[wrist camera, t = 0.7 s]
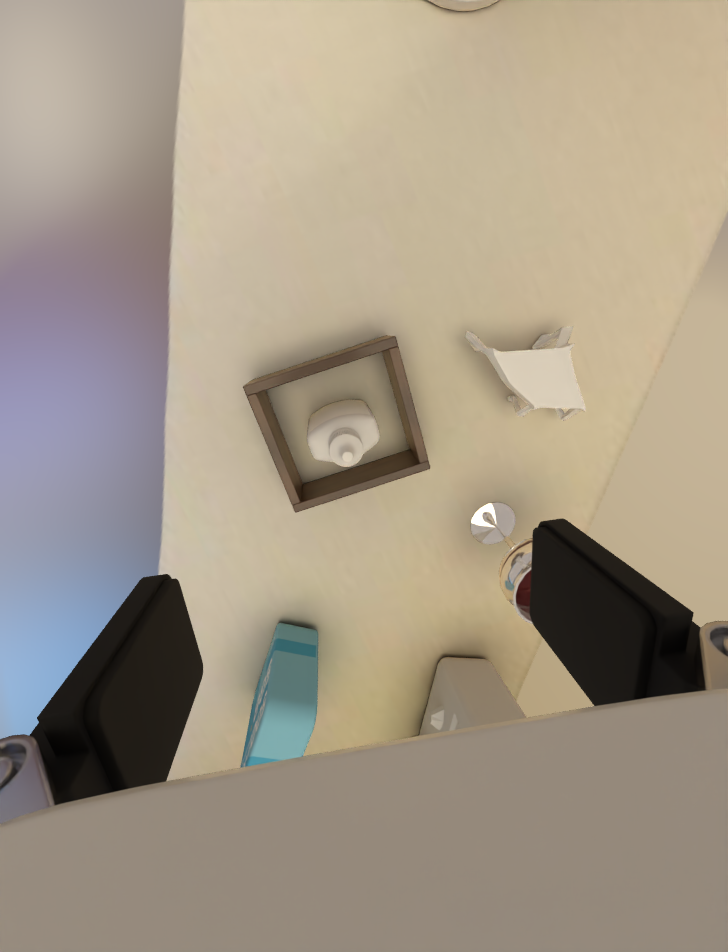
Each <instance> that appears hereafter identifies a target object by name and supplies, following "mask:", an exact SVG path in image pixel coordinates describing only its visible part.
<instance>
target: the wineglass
mask: <svg viewBox="0 0 728 952" xmlns="http://www.w3.org/2000/svg"><path fill="white" fill-rule="evenodd" d="M515 522H516V521H515V514H514V512H513V510H512V509H511V508H510V507H509V506H508V505H505V504H503V503H490V504H487V505H485V506H483V507H481V508H480V509H479V510H478V511H477V512H476V513H475V515H474V517H473V518H472V521H471V532H472V534H473V536H474V538H475V539H477V540H478V541H479V542H482V543H484V544H494V543H499V542H501V541H502V540H504V541H505V542H506V543H507V545H508V546H509V547H510V550H509V551H508V552H507V553H506V554H505V556H504V558H503V559H502V561H501V564H500V568H499V580H500V586H501V589H502V591H503V593H504V595H505V597H506V599H507V600H508V601H509V602H510V603H511V604H512V605H514V608H515V609H516V611H517V613H518V615H519V616H520V617H521V618H522V619H524V620H525V621H526V622H528V623H531V624H533V623H532V621H531V618H530V612H529V608H530V585H531V563H532V540H533V538H530V539H525V540H523V541H521V542H520V543H518V544H515V543H514V542H513V541H512V540H511V539H510V538H509V537H508V536H509V535H510V534H511V532H512V531H513V529H514V526H515Z"/></svg>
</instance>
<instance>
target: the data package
mask: <svg viewBox="0 0 728 952" xmlns="http://www.w3.org/2000/svg"><path fill="white" fill-rule="evenodd" d="M317 690H318V632H317V630H313V629H308V628H303V627H299V626H294V625H289V624H284V623H279V624H278V625H277V627H276V630H275V633H274V636H273V639H272V642H271V645H270V648H269V651H268V654H267V658H266V661H265V664H264V667H263V670H262V673H261V676H260V679H259V682H258V685H257V688H256V692H255V696H254V700H253V704H252V709H251V715H250V720H249V725H248V731H247V736H246V741H245V747H244V752H243V757H242V763H241V768H242V767H247V766H253V765H258V764H264V763H269V762H275V761H280V760H286V759H292V758H297V757H303V754H304V752H305V749H306V747H307V744H308V742H309V739H310V737H311V734H312V732H313V729H314V725H315V720H316V714H317Z"/></svg>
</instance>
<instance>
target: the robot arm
mask: <svg viewBox="0 0 728 952" xmlns="http://www.w3.org/2000/svg"><path fill="white" fill-rule="evenodd" d="M428 1H430V2H432V3H434V4H436V5H438V6H439V7H443V8H447V9H451V10H455V11H473V10H477V9H480V8H484V7H488V6H490V5H492V4H494V3H495V2H497V1H499V0H428ZM529 612H530V618H531V621H532V623H533V625H534V626H535V628H536V629H537V630H538V632H539V633H540V634H541V636H542V637H543V638H544V639H545V641H546V642H547V643H548V645H549V646H550V647H551V649H552V650H553V651H554V653H555V654H556V655H557V657H558V658H559V659H560V661H561V662H562V663H563V664H564V666H565V667H566V669H567V670H568V671H569V673H570V674H571V675H572V677H573V678H574V679H575V681H576V682H577V683H578V685H579V686H580V687H581V689H582V690H583V691H584V693H585V694H586V695H587V697H588V698H589V699H590V700H591V702H592V703H593V704H594V706H593V707H588V708H582V709H576V710H569V711H563V712H558V713H552V714H546V715H540V716H534V717H528V718H522V719H516V720H510V721H504V722H498V723H492V724H486V725H480V726H474V727H468V728H463V729H457V730H451V731H445V732H439V733H434V734H428V735H422V736H416V737H410V738H405V739H399V740H393V741H388V742H382V743H376V744H370V745H365V746H359V747H353V748H348V749H342V750H336V751H330V752H325V753H319V754H314V755H308V756H303V757H297V758H292V759H286V760H280V761H275V762H269V763H264V764H258V765H253V766H247V767H242V768H236V769H231V770H225V771H219V772H214V773H208V774H203V775H197V776H192V777H187V778H182V779H176V780H171V781H166V780H167V777H168V774H169V771H170V768H171V765H172V762H173V760H174V757H175V754H176V751H177V748H178V745H179V742H180V739H181V737H182V734H183V731H184V728H185V725H186V722H187V719H188V717H189V714H190V711H191V708H192V705H193V702H194V699H195V696H196V694H197V691H198V688H199V685H200V682H201V679H202V676H203V663H202V659H201V655H200V652H199V648H198V645H197V642H196V638H195V635H194V631H193V628H192V624H191V621H190V618H189V614H188V611H187V607H186V604H185V601H184V597H183V594H182V590H181V587H180V584H179V581H178V580H177V579H172V578H171V577H170V576H169V575H168V574H164V575H157V576H150V577H144V578H142V579H141V580H140V581H139V582H138V584H137V585H136V586H135V588H134V589H133V591H132V592H131V593H130V595H129V596H128V597H127V598H126V600H125V601H124V602H123V604H122V605H121V607H120V608H119V609H118V610H117V612H116V613H115V615H114V616H113V617H112V619H111V620H110V621H109V622H108V624H107V625H106V626H105V628H104V629H103V630H102V632H101V633H100V635H99V636H98V637H97V639H96V640H95V641H94V643H93V644H92V645H91V647H90V648H89V649H88V650H87V652H86V653H85V654H84V656H83V657H82V659H81V660H80V661H79V662H78V664H77V665H76V666H75V668H74V669H73V670H72V672H71V673H70V675H69V676H68V677H67V678H66V680H65V681H64V683H63V684H62V685H61V687H60V688H59V689H58V691H57V692H56V693H55V695H54V696H53V697H52V698H51V700H50V701H49V703H48V704H47V705H46V707H45V708H44V709H43V711H42V712H41V713H40V715H39V716H38V717H37V719H38V721H39V723H38V725H37V726H36V727H35V729H34V730H33V731H32V733H31V734H30V736H28V735H13V736H9V737H6V738H3V739H0V952H728V621H714V622H710V623H706V624H705V625H704V626H702V627H701V628H700V627H699V626H698V625H696V624H695V623H694V622H692V617H693V612H692V611H691V610H689V609H688V608H686V607H685V606H684V605H682V604H681V603H680V602H678V601H677V600H675V599H674V598H673V597H671V596H670V595H669V594H667V593H666V592H665V591H663V590H662V589H660V588H659V587H657V586H656V585H655V584H654V583H652V582H651V581H649V580H648V579H647V578H645V577H644V576H643V575H641V574H640V573H638V572H637V571H635V570H634V569H633V568H631V567H630V566H629V565H627V564H626V563H625V562H623V561H622V560H620V559H619V558H618V557H616V556H615V555H614V554H612V553H611V552H609V551H608V550H607V549H605V548H604V547H602V546H601V545H600V544H598V543H597V542H596V541H594V540H593V539H591V538H590V537H589V536H587V535H586V534H585V533H583V532H582V531H580V530H579V529H578V528H576V527H575V526H574V525H572V524H571V523H569V522H568V521H567V520H565V519H556V520H549V521H542V522H540V524H539V526H538V528H535V529H534V530H533V540H532V563H531V585H530V608H529Z"/></svg>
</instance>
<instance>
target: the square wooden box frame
mask: <svg viewBox="0 0 728 952" xmlns="http://www.w3.org/2000/svg"><path fill="white" fill-rule="evenodd" d="M379 352H382V353H383V356H384V360H385V364H386V367H387V371H388V374H389V378H390V381H391V385H392V389H393V392H394V396H395V399H396V403H397V406H398V410H399V414H400V417H401V421H402V424H403V428H404V431H405V435H406V439H407V442H408V446H409V449H410V450H407V451H404V452H401V453H397V454H394V455H391V456H388V457H385V458H382V459H379V460H376V461H373V462H370V463H367V464H364V465H361V466H358V467H355V468H352V469H349V470H346V471H342V472H339V473H336V474H333V475H330V476H327V477H324V478H321V479H318V480H315V481H312V482H309V483H306V484H303V483H302V481H301V478H300V476H299V473H298V471H297V468H296V466H295V463H294V461H293V458H292V456H291V453H290V451H289V448H288V446H287V443H286V441H285V438H284V435H283V433H282V430H281V428H280V425H279V423H278V420H277V418H276V415H275V413H274V410H273V408H272V405H271V403H270V400H269V398H268V395H267V393H266V390H267V389H270V388H273V387H276V386H279V385H282V384H285V383H288V382H291V381H294V380H297V379H300V378H303V377H306V376H309V375H312V374H315V373H318V372H321V371H324V370H327V369H330V368H333V367H336V366H339V365H342V364H346V363H349V362H352V361H355V360H358V359H361V358H364V357H367V356H370V355H373V354H376V353H379ZM243 388H244V391H245V393H246V395H247V398H248V400H249V403H250V405H251V408H252V410H253V412H254V415H255V417H256V420H257V422H258V424H259V427H260V429H261V432H262V434H263V436H264V439H265V441H266V444H267V446H268V448H269V451H270V453H271V456H272V458H273V460H274V463H275V465H276V468H277V470H278V472H279V475H280V477H281V480H282V482H283V484H284V487H285V489H286V492H287V494H288V496H289V499H290V501H291V504H292V506H293V508H294V511H295V512H299V511H302V510H305V509H308V508H311V507H314V506H317V505H320V504H324V503H327V502H330V501H333V500H336V499H339V498H342V497H345V496H348V495H351V494H354V493H357V492H360V491H363V490H366V489H369V488H373V487H376V486H379V485H382V484H385V483H388V482H391V481H394V480H397V479H400V478H403V477H406V476H409V475H412V474H415V473H418V472H422V471H425V470H428V469H430V465H429V461H428V457H427V453H426V449H425V446H424V442H423V438H422V434H421V430H420V427H419V423H418V419H417V415H416V412H415V408H414V404H413V400H412V396H411V393H410V389H409V385H408V381H407V377H406V374H405V370H404V366H403V362H402V359H401V355H400V351H399V347H398V344H397V340H396V336H387V335H386V336H383V337H380V338H377V339H374V340H371V341H368V342H365V343H362V344H359V345H356V346H353V347H350V348H347V349H344V350H341V351H338V352H335V353H332V354H329V355H326V356H323V357H320V358H317V359H314V360H311V361H308V362H305V363H302V364H298V365H295V366H292V367H289V368H286V369H283V370H280V371H277V372H274V373H271V374H268V375H265V376H262V377H259V378H256V379H253V380H251V381H250V382H249V383H247V384H246V385H244V386H243Z"/></svg>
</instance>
